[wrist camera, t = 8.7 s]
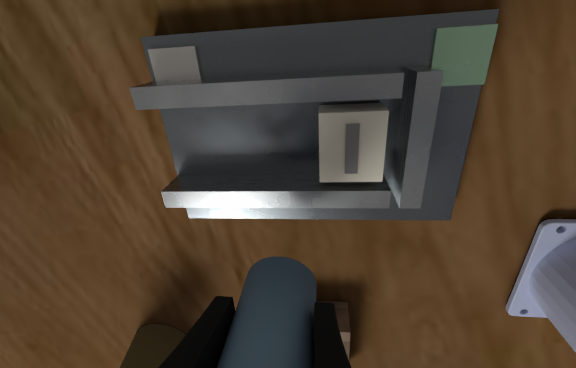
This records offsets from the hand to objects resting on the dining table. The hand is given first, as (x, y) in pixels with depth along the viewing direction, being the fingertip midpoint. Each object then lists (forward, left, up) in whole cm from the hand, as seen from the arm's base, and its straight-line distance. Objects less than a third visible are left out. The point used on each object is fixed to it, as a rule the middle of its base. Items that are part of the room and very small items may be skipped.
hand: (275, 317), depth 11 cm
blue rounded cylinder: (0, 0, -2) cm, 2 cm away
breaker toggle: (-3, -4, -7) cm, 9 cm away
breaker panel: (-1, -5, -9) cm, 10 cm away
